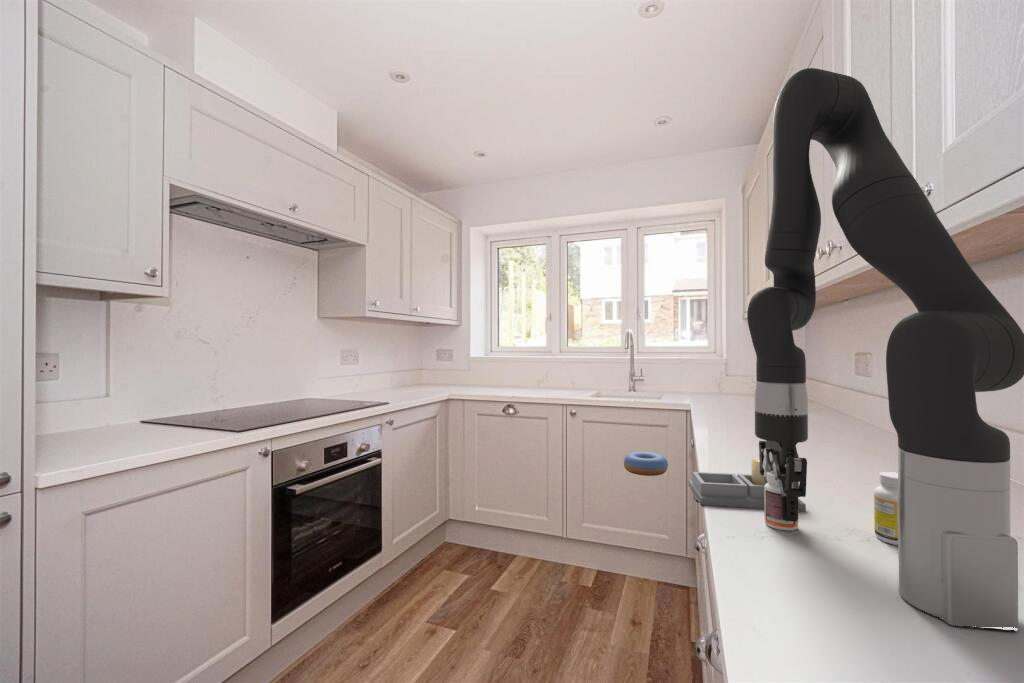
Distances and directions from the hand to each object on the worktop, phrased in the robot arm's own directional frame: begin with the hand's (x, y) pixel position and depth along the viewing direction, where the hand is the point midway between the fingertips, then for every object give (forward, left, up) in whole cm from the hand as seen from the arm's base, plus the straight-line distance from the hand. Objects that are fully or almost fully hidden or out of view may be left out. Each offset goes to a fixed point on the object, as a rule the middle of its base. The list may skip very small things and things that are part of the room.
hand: (781, 512), depth 76 cm
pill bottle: (0, 0, -2) cm, 2 cm away
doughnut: (+30, +18, -3) cm, 35 cm away
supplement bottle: (-3, -15, -2) cm, 15 cm away
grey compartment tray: (+14, +2, -2) cm, 14 cm away
